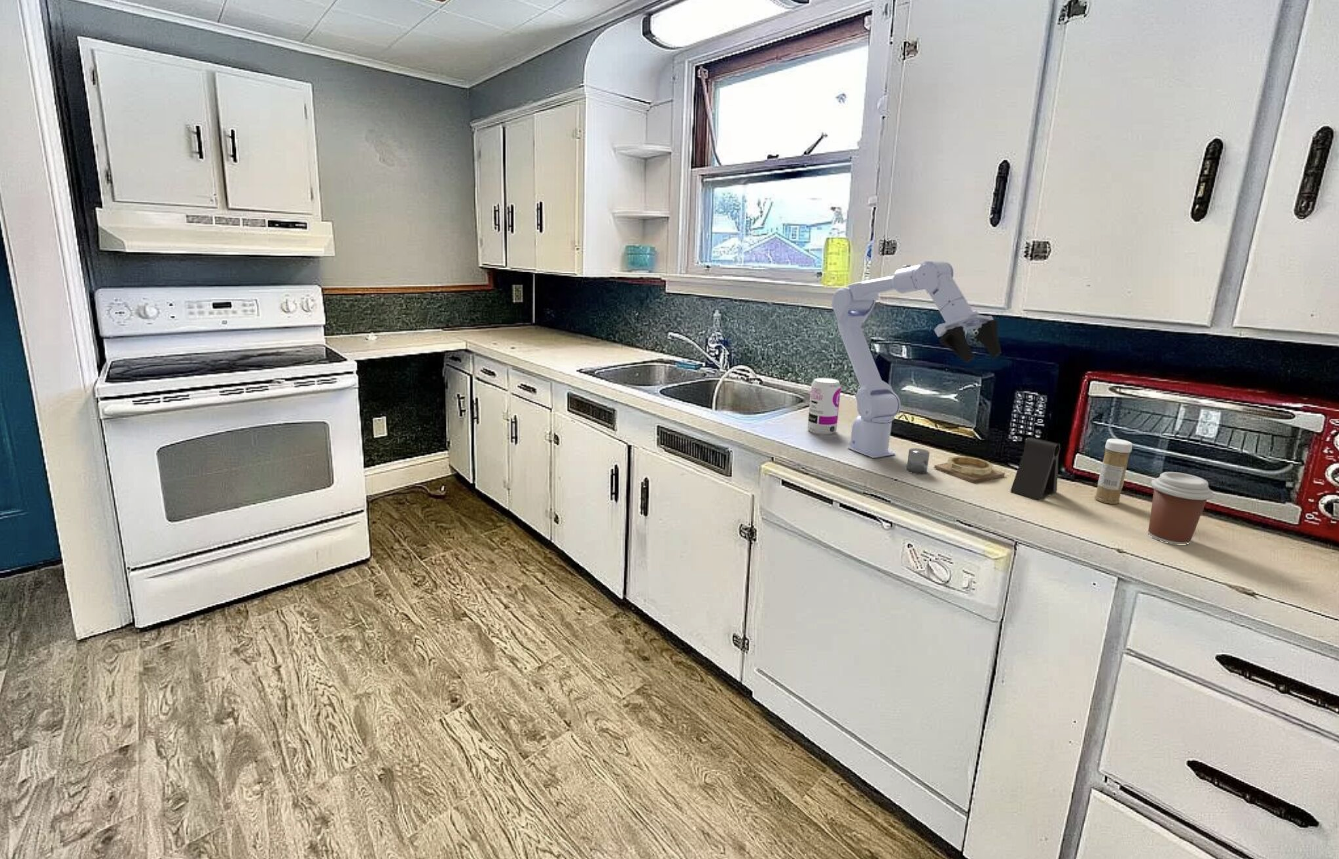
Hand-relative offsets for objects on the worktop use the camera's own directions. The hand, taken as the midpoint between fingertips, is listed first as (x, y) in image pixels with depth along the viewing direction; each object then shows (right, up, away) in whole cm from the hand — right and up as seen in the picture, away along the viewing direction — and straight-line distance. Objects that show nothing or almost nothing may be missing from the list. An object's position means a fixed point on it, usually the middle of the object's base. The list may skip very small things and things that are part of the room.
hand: (983, 357), depth 136 cm
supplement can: (-23, -16, +49) cm, 57 cm away
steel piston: (-7, -25, +18) cm, 32 cm away
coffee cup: (+27, -36, -15) cm, 47 cm away
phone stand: (+14, -29, +6) cm, 33 cm away
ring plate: (+5, -26, +18) cm, 32 cm away
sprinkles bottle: (+28, -31, +3) cm, 41 cm away
